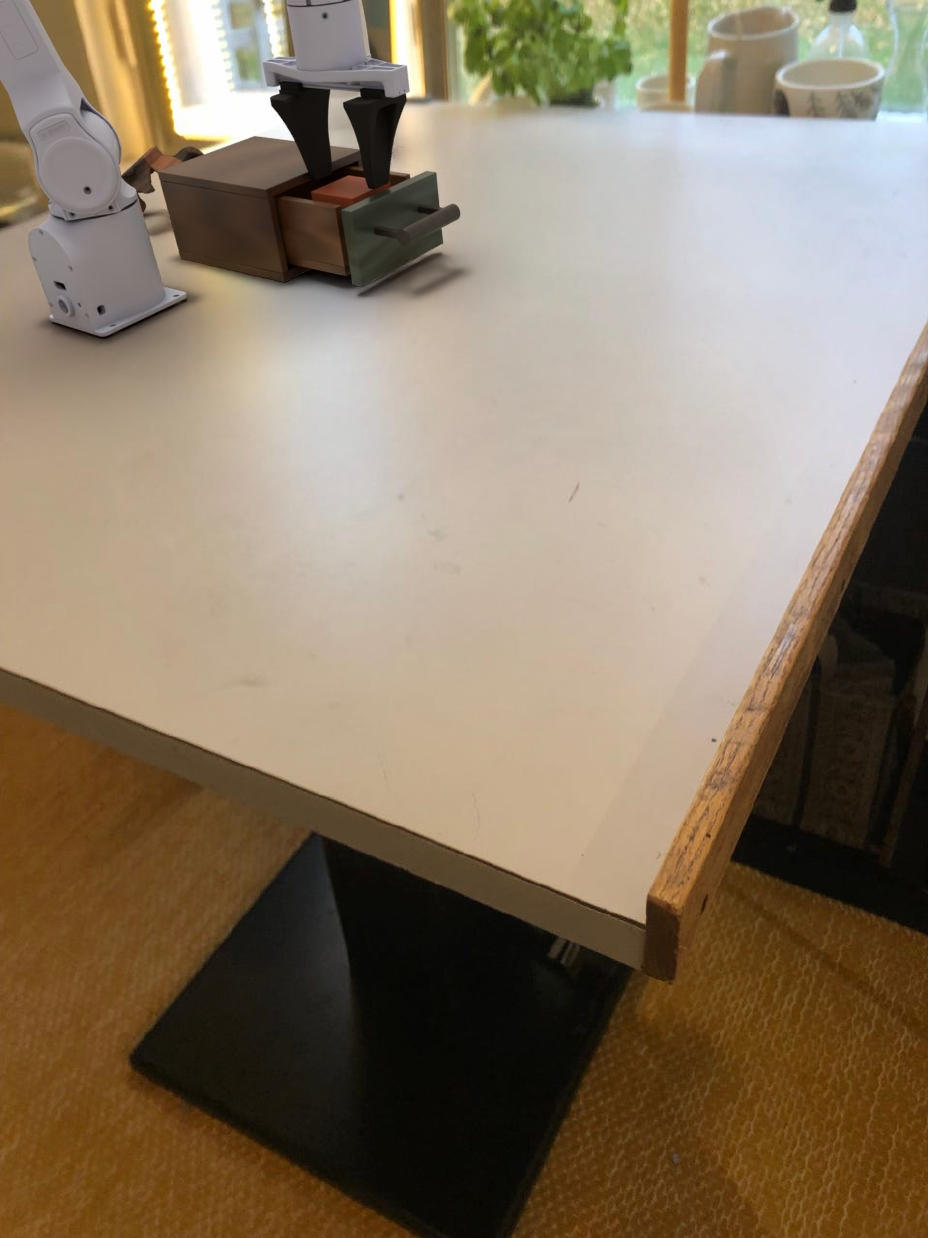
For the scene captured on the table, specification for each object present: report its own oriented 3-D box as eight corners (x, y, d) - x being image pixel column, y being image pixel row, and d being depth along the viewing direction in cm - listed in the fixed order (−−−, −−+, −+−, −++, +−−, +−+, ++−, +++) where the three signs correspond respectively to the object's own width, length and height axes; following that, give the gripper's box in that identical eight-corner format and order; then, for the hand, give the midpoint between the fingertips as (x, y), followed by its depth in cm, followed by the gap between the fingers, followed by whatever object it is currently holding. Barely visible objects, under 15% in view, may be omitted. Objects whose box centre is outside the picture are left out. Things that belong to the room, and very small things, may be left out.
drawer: (479, 249, 89) (473, 176, 85) (398, 295, 82) (388, 218, 78) (337, 224, 97) (326, 156, 93) (254, 263, 91) (238, 192, 87)
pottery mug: (182, 243, 101) (122, 173, 97) (142, 270, 108) (85, 206, 104) (247, 177, 106) (192, 109, 102) (205, 207, 113) (153, 144, 109)
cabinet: (374, 237, 96) (362, 149, 91) (284, 282, 89) (265, 189, 84) (271, 217, 104) (254, 135, 98) (180, 258, 96) (156, 171, 91)
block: (361, 256, 87) (352, 198, 83) (320, 248, 89) (310, 191, 86) (397, 238, 90) (390, 181, 86) (356, 230, 92) (348, 174, 89)
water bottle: (317, 156, 121) (275, -93, 104) (371, 145, 122) (337, -102, 106) (336, 169, 115) (295, -91, 99) (391, 157, 117) (360, -100, 101)
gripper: (425, -8, 76) (442, 176, 84) (292, -11, 83) (320, 159, 92) (365, 9, 72) (389, 201, 80) (231, 5, 79) (267, 181, 88)
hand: (349, 181), depth 86 cm, fingers open, 6 cm apart
